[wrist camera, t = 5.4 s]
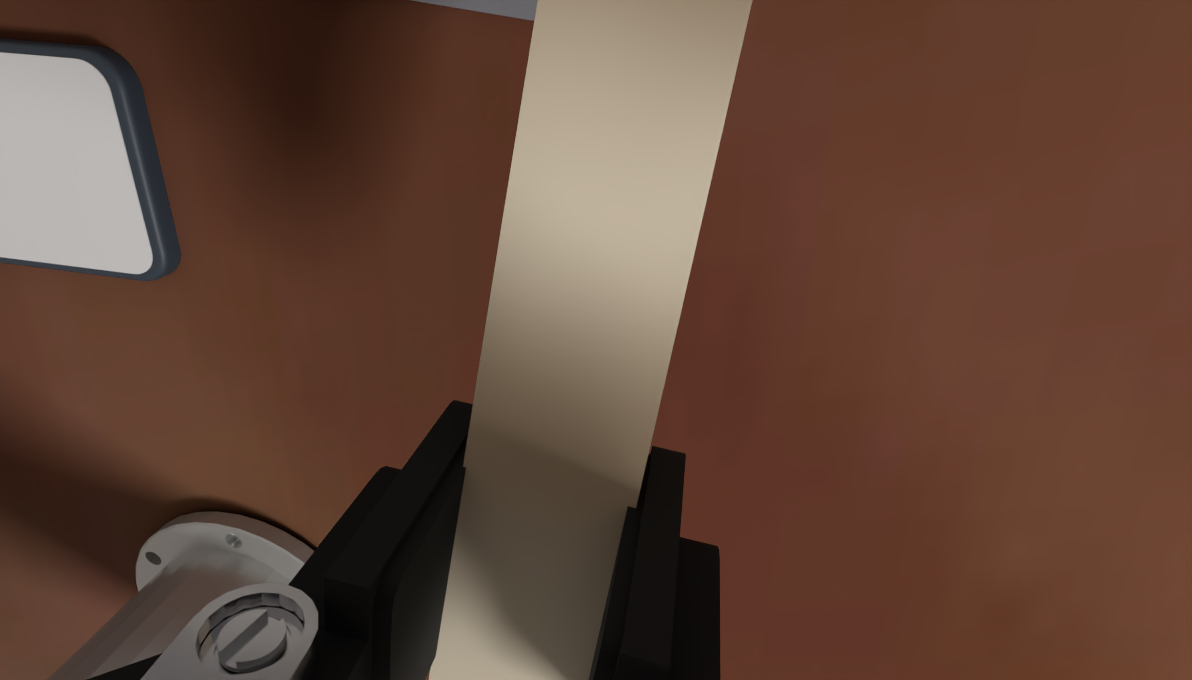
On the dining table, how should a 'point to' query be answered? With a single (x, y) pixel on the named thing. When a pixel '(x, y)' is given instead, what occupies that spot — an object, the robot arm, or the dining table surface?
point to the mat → (493, 6)
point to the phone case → (80, 165)
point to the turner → (581, 321)
